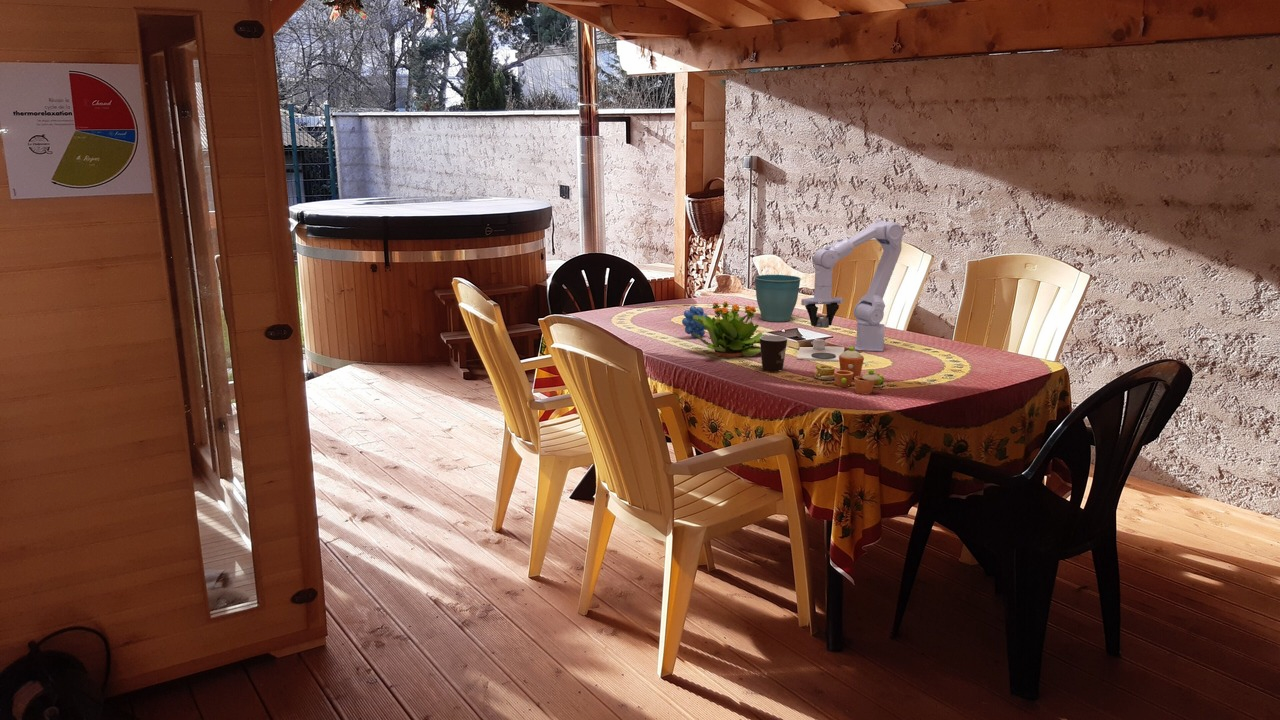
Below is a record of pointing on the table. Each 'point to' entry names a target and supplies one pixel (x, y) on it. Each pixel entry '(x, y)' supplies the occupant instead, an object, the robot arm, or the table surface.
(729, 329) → the potted flower
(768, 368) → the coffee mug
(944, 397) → the table surface
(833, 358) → the board
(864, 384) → the toy tea set
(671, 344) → the table surface
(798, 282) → the flower pot
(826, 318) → the knob
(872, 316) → the robot arm
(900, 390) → the table surface
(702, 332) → the grapes
